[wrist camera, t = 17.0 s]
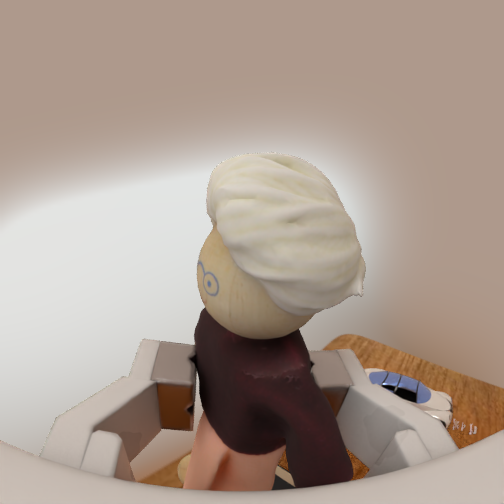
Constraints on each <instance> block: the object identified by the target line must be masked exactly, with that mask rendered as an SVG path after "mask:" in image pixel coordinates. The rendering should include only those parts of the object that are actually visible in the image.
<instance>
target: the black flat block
mask: <svg viewBox="0 0 504 504" xmlns="http://www.w3.org/2000/svg"><path fill="white" fill-rule="evenodd" d="M285 489H296V487H295V485H294V482H293V479H292V476H291V474H290V472H289V471H287V470H286V469H284V468H282V467H281V466H279V465H277V468H276V471H275V480H274V484H273V487H272V489H271V490H285Z"/></svg>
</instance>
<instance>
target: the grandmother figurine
mask: <svg viewBox="0 0 504 504" xmlns="http://www.w3.org/2000/svg"><path fill="white" fill-rule="evenodd" d="M207 214H208V215H209V216H210V218H211V222H212V224H213V230H212V231H211V233H210V234H209V236H208V237H207V239H206V241H205V243H204V245H203V247H202V249H201V252H200V255H199V260H198V265H197V281H198V288H199V292H200V296H201V299H202V301H203V303H204V305H205V308H204V309H203V310H202V311H201V313H200V318H199V321H198V323H197V326H196V328H195V334H194V339H195V345H196V347H195V349H196V352H197V354H196V369H197V373H198V376H199V394H200V399H201V403H202V407H203V410H204V411H203V414H202V417H201V419H200V421H199V425H198V429H197V433H196V437H195V441H194V445H193V449H192V453H191V454H190V455H187V456H186V457H184V458H183V459H182V460H181V462H180V463H179V465H178V476H179V479H180V481H181V482H182V483H183V484H184V485H183V489H194V490H210V491H269V490H271V489H272V487H273V484H274V480H275V471H276V468H277V465H278V463H279V461H280V458H281V456H282V454H283V452H284V451H285V449H286V458H287V462H288V469H289V471H290V474H291V476H292V479H293V482H294V485H295V487H296V489H297V488H307V487H315V486H323V485H330V484H336V483H342V482H348V481H350V480H351V479H352V477H353V467H352V463H351V460H350V457H349V455H348V453H347V451H346V447H345V444H344V441H343V439H342V436H341V433H340V430H339V426H338V423H337V420H336V417H335V414H334V412H333V410H332V407H331V405H330V403H329V401H328V399H327V398H326V396H325V395H324V393H323V392H322V390H321V389H320V387H319V386H318V385H317V384H316V383H315V381H314V380H313V377H312V375H311V361H310V354H309V352H308V350H307V348H306V345H305V342H304V340H303V337H302V335H301V333H300V330H299V328H300V327H302V326H303V325H305V324H306V323H307V322H308V321H309V320H310V319H311V318H312V317H313V315H314V314H316V313H318V312H320V311H322V310H324V309H328V308H331V307H333V306H335V305H337V304H339V303H341V302H342V301H344V300H345V299H346V298H348V297H350V296H352V295H355V296H357V295H359V296H361V297H362V296H363V281H364V277H365V272H366V267H365V261H364V259H363V257H362V255H361V246H360V244H359V241H358V239H357V236H356V231H355V225H354V223H353V222H352V220H351V218H350V217H349V216H348V214H347V212H346V211H345V209H344V206H343V204H342V202H341V201H340V199H339V197H338V194H337V192H336V190H335V188H334V187H333V185H332V184H331V182H330V181H329V179H328V178H327V177H326V176H325V175H324V174H323V173H322V172H321V171H320V170H318V169H317V168H316V167H315V166H313V165H312V164H310V163H308V162H307V161H304V160H303V159H300V158H298V157H295V156H291V155H285V154H280V153H274V152H272V153H252V154H243V155H239V156H236V157H232V158H230V159H228V160H226V161H224V162H221V163H220V164H219V165H218V166H216V168H215V169H214V170H213V171H212V174H211V177H210V181H209V184H208V188H207Z"/></svg>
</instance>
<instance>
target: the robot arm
mask: <svg viewBox="0 0 504 504" xmlns="http://www.w3.org/2000/svg"><path fill="white" fill-rule="evenodd" d="M195 347H196V345H189V344H181V343H173V342H166V341H157V340H148V339H143V340H142V341H141V342H140V345H139V348H138V350H137V353H136V356H135V359H134V362H133V365H132V368H131V371H130V373H129V377H124V376H123V377H121V378H119V379H118V380H116V381H115V382H113V383H111V384H110V385H108V386H107V387H105V388H104V389H102V390H100V391H99V392H97V393H95V394H94V395H92V396H91V397H89V398H87V399H86V400H84V401H82V402H81V403H79V404H78V405H76V406H74V407H73V408H71V409H69V410H68V411H66V412H64V413H63V414H61V415H59V416H58V417H56V419H55V421H54V424H53V426H52V428H51V430H50V432H49V434H48V437H47V439H46V441H45V444H44V446H43V448H42V451H41V453H40V455H39V456H37V455H34V454H32V453H29V452H26V451H24V450H22V449H19V448H17V447H14V446H12V445H10V444H8V443H5V442H3V441H1V440H0V504H504V429H503V430H501V431H499V432H497V433H495V434H493V435H491V436H489V437H487V438H485V439H483V440H480V441H478V442H476V443H474V444H471V445H469V446H467V447H464V448H462V449H458V447H457V446H456V444H455V442H454V441H453V439H452V438H451V436H450V435H449V433H448V432H447V430H446V429H445V427H444V425H443V424H442V422H441V421H440V420H439V419H437V418H435V417H433V416H432V415H430V414H428V413H426V412H425V411H423V410H421V409H419V408H418V407H416V406H414V405H412V404H411V403H409V402H407V401H405V400H404V399H402V398H400V397H398V396H397V395H395V394H393V393H392V392H390V391H388V390H387V389H385V388H383V387H381V386H380V385H378V384H372V383H371V381H370V379H369V377H368V376H367V374H366V372H365V371H364V369H363V367H362V365H361V364H360V362H359V360H358V358H357V357H356V355H355V353H354V352H353V351H352V350H351V349H342V350H332V351H308V352H309V354H310V361H311V375H312V377H313V380H314V381H315V383H316V384H317V385H318V386H319V387H320V389H321V390H322V392H323V393H324V395H325V396H326V398H327V399H328V401H329V403H330V405H331V407H332V410H333V412H334V414H335V417H336V420H337V423H338V426H339V430H340V433H341V436H342V439H343V441H344V444H345V447H346V448H347V449H348V450H349V451H350V452H351V453H352V454H353V455H355V456H356V457H357V458H358V459H359V460H360V461H361V462H362V463H364V464H365V465H366V466H367V467H368V468H369V469H370V470H369V471H368V473H367V474H366V475H365V477H364V478H363V479H358V480H353V481H348V482H342V483H336V484H330V485H323V486H315V487H307V488H297V489H285V490H269V491H210V490H194V489H182V488H172V487H164V486H157V485H150V484H143V483H137V482H136V481H135V478H134V475H133V473H132V470H131V467H130V462H131V461H132V460H133V459H134V458H135V457H136V456H137V455H138V454H139V453H140V452H141V451H142V450H143V449H144V448H145V447H146V446H147V445H148V443H149V442H150V441H151V440H152V439H153V438H154V437H155V436H156V435H157V434H158V433H159V432H160V431H161V429H171V430H183V431H184V430H185V431H193V423H194V406H195V403H194V402H195V395H196V394H195V393H196V376H197V375H196V374H197V369H196V354H197V352H196V349H195Z"/></svg>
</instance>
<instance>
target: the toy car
mask: <svg viewBox="0 0 504 504" xmlns="http://www.w3.org/2000/svg"><path fill="white" fill-rule="evenodd" d="M364 371H365V372H366V374H367V376H368V377H369V379H370V381H371V383H372V384H378V385H380V386H381V387H383V388H385V389H387V390H388V391H390V392H392V393H393V394H395V395H397V396H398V397H400V398H402V399H404V400H405V401H407V402H409V403H411V404H412V405H414V406H416V407H418V408H419V409H421V410H423V411H425V412H426V413H428V414H430V415H432V416H433V417H435V418H437V419H439V420H440V421H441V422H442V424H443V425H444V427H445V426H446V430H447V428H448V427H449V425H450V424H451V419H452V416H453V405H452V398H451V397H450V396H449V395H448V394H446V393H444V392H439V391H434V390H432V389H430V388H428V387H426V386H425V385H424V384H423V383H421V381H418V380H416V379H413V378H411V377H408V376H405V375H402V374H398V373H394V372H389V371H385V370H382V369H376V368H369V369H364ZM449 410H450V412H449ZM458 422H459V421H458ZM454 424H455V421H454ZM462 425H463V423H462ZM470 425H472V424H470ZM464 426H465V425H464ZM474 427H476V426H474ZM458 428H459V427H457V429H458ZM462 428H463V427H462ZM453 429H454V428H453ZM474 429H475V428H474ZM476 429H477V428H476ZM461 430H462V429H461ZM471 430H472V429H471V428H470V431H471ZM474 432H475V430H474ZM474 432H473V434H474ZM471 433H472V432H471ZM471 433H469V434H471ZM475 434H476V433H475Z"/></svg>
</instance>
